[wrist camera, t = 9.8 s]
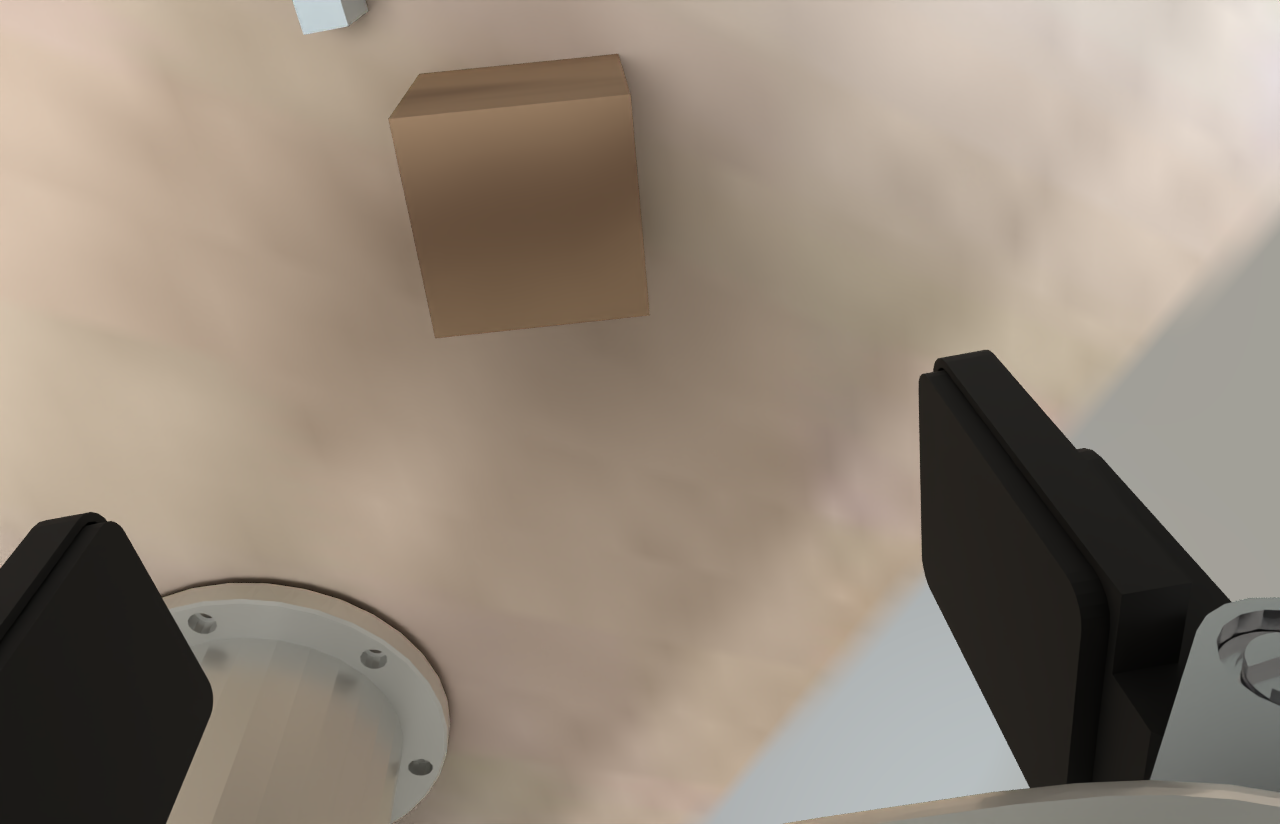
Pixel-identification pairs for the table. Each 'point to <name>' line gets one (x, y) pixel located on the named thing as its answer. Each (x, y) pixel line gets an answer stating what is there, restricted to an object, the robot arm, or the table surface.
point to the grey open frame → (328, 13)
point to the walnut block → (523, 194)
